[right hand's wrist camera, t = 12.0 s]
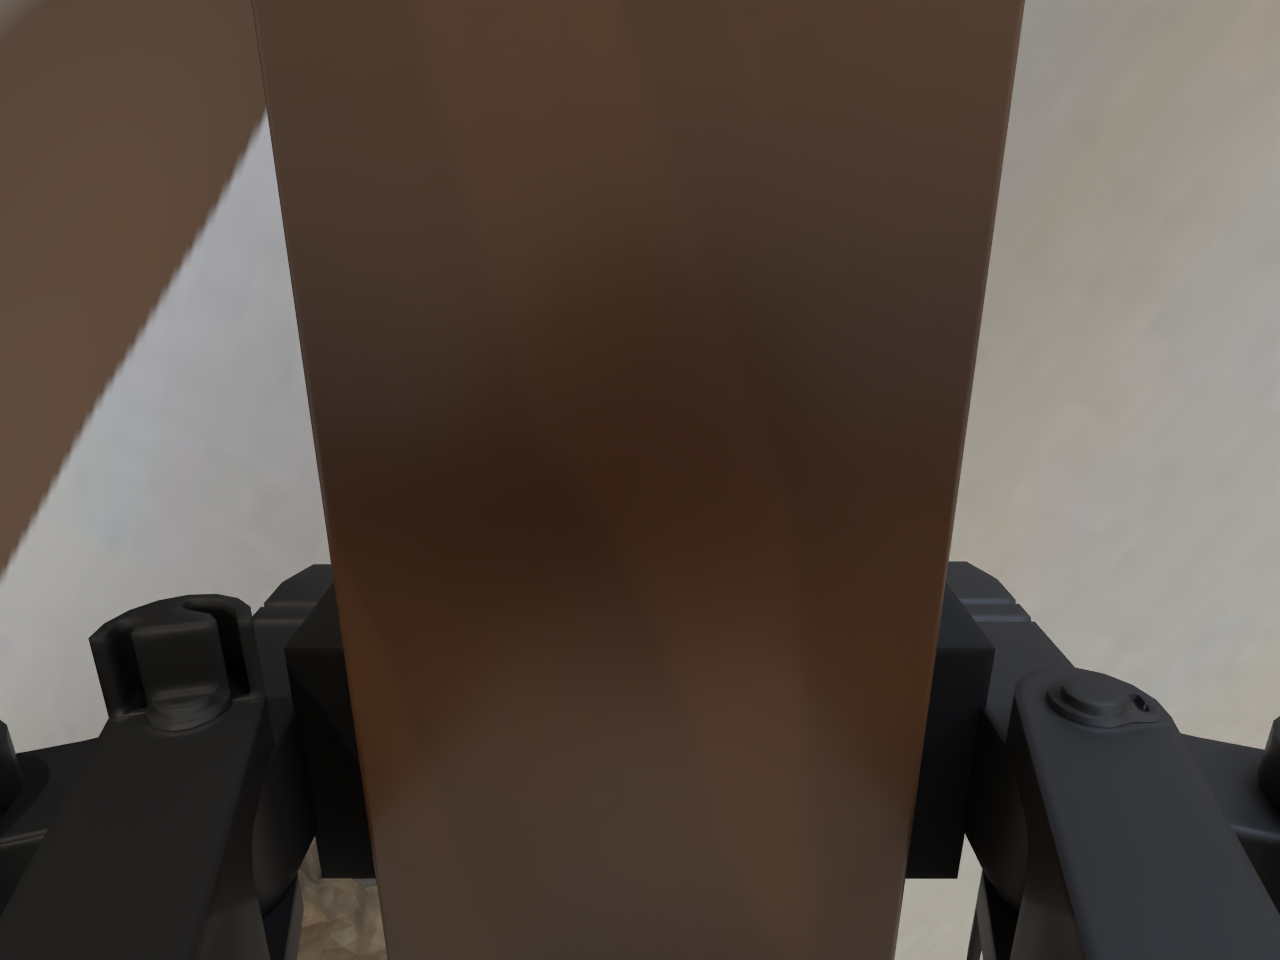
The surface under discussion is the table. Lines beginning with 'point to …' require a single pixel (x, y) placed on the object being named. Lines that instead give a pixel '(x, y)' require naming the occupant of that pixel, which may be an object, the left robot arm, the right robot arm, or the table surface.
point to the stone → (338, 916)
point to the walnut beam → (639, 446)
